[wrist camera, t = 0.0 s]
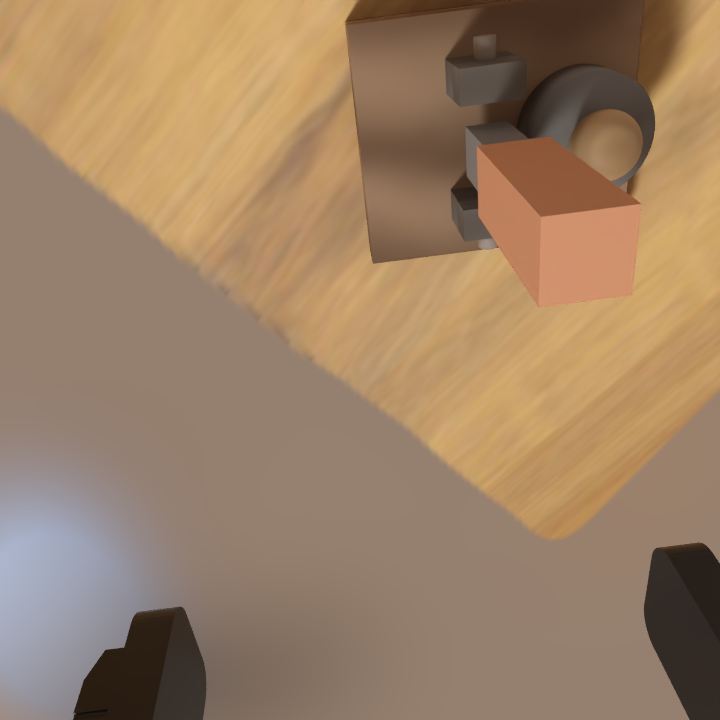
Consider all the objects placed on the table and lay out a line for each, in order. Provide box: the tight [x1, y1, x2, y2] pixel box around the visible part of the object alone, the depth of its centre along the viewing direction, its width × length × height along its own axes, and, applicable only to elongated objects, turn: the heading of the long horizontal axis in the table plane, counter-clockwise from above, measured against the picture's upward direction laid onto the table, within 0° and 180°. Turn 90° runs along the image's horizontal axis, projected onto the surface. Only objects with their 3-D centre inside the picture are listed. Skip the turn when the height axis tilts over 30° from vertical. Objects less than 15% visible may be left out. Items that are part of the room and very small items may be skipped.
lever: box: [465, 121, 642, 307], centre depth 27 cm, size 3×3×14 cm
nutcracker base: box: [345, 0, 655, 264], centre depth 33 cm, size 12×14×8 cm
